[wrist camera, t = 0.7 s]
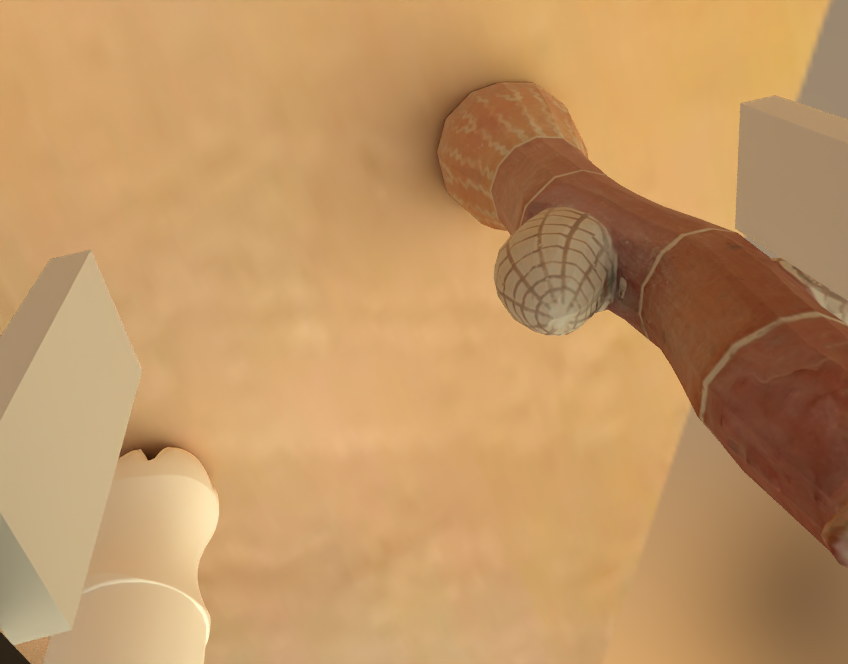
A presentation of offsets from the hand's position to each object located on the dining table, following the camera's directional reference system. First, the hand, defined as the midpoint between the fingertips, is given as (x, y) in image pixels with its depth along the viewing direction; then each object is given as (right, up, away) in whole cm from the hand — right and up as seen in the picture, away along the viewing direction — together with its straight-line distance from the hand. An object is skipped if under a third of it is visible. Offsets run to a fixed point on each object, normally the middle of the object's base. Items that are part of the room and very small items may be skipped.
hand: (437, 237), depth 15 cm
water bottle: (-16, -11, +31) cm, 37 cm away
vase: (+5, +8, +25) cm, 27 cm away
